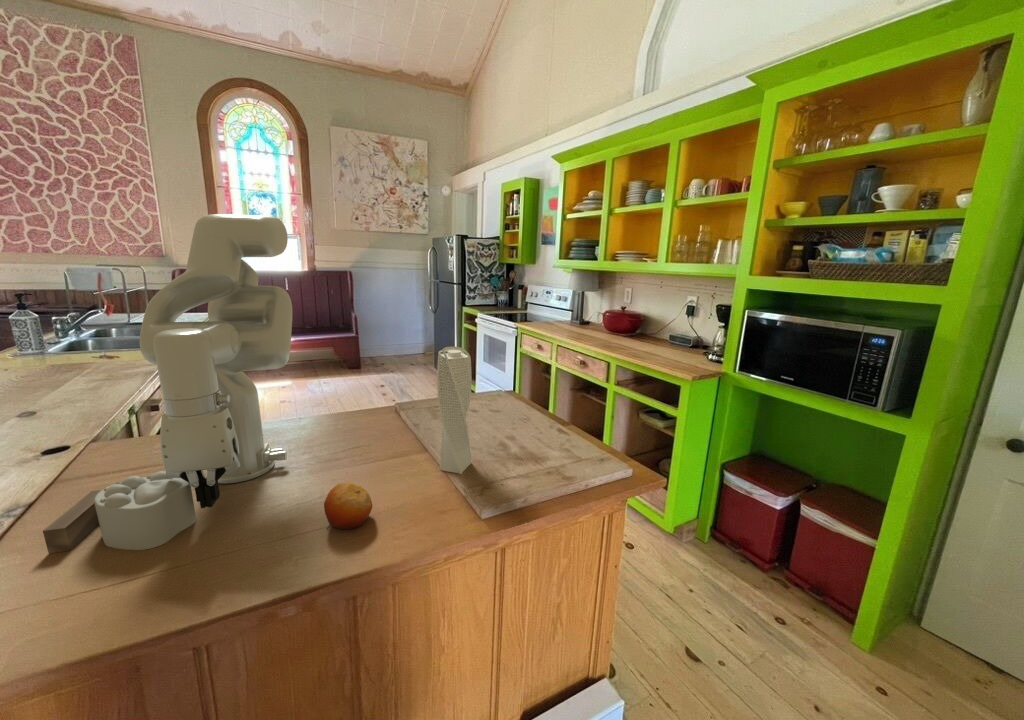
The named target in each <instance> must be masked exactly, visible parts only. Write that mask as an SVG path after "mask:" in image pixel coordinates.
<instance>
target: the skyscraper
mask: <svg viewBox="0 0 1024 720" xmlns="http://www.w3.org/2000/svg"><path fill="white" fill-rule="evenodd" d="M436 373H437V375H436V377H437V378H436V381H437V382H436V383H437V384H436V385H437V386H436V387H437V388H436V389H437V390H436V391H437V401H438V402H437V403H438V408H439V414H440V420H441V423H442V433H441V434H442V435H441V447H440V461H439V471H445V472H449V473H450V472H451V473H453V474H454V473H455V474H459V475H463V472H464V471H466V469H467V468H468V467H469V466H470V465H471V464H472V463H473V461H472V452H471V442H470V437H469V436H470V435H469V430H468V429H469V428H468V423H467V417H468V412H469V410H470V409H469V408H470V403H471V397H472V396H471V395H472V382H473V381H472V380H473V379H472V378H473V377H472V375H473V374H472V360H471V355H470V353H469V352H468V351H467V350H466V349H465V348H463V347H461V346H446V347H444V348H442V349H441V350H439V351H438V352H437V370H436Z"/></svg>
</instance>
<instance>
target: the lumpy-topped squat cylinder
mask: <svg viewBox="0 0 1024 720" xmlns="http://www.w3.org/2000/svg"><path fill="white" fill-rule="evenodd" d="M100 490H101V491H100V492H99V493H98V494H97V495H96V497H95V499H94V503H95V507H96V512H97V516H98V520H99V524H98V525H99V528H100V532H101V533H100V534H101V538H102V541H103V543H104V545H105V546H106V547H109V548H112V549H118V550H127V551H144V550H149V549H153V548H156V547H160V546H161V545H164V544H166V543H168V542H169V541H170V540H171V539H173V538H174V537H175V536H176V535H178V534H179V533H181V532H182V531H184V530H186V529H188V528H189V527H191V526H192V525H194V524H195V523H196V522H197V514H196V509H195V501H194V497H193V491H192V487H191V485H190V483H188V482H187V481H185V480H183V479H182V478H170V477H167V476H166V470H163V471H162V470H160V471H157V472H154V473H152V474H149V475H147V476H144V477H143V476H142V477H141V476H139V475H131V476H128V477H126V478H124V479H123V480H122V481H120V482H119V481H117V482H115V483H113V484H111V485H109V486H107V487H105V488H103V489H100Z"/></svg>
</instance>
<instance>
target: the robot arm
mask: <svg viewBox="0 0 1024 720" xmlns="http://www.w3.org/2000/svg"><path fill="white" fill-rule="evenodd" d="M287 245H288V231H287V229H286V225H285V224H284V223H283V221H282V220H281V219H280V218H279V217H278V216H271V215H270V216H267V215H266V216H265V215H253V214H250V215H249V214H232V213H231V214H229V213H228V214H226V213H225V214H224V213H222V214H221V213H215V214H214V213H213V214H206V215H203V216H201V217H200V218H198V220H197V221H196V223H195V225H194V229H193V233H192V238H191V243H190V249H189V252H188V253H189V254H188V259H187V261H186V262H187V264H186V270H185V271H184V272H183V273H181V274H180V275H179V276H177V277H175V278H173V279H172V280H171V281H170V282H168V283H167V284H166V285H164V286H163V287H161V289H160V290H158V291H157V292H156V293H155V294H154V295H153V296H152V298H151V299H150V301H148V303H147V305H146V308H145V311H144V314H143V319H142V323H141V328H140V333H139V349H140V353H141V355H142V357H143V358H144V359H145V360H146V361H147V362H148V363H150V364H153V365H154V366H155V365H156V367H157V373H158V378H159V379H158V381H159V385H160V390H161V396H162V401H163V406H164V413H163V414H162V415H161V417H160V418H161V419H160V434H159V435H160V438H159V439H160V440H159V441H160V453H161V460H162V465H163V468H164V471H165V472H166V476H167V477H170V478H182V479H183V480H185V481H187V482H188V483H190V485H191V488H193V489H194V492H195V498H196V502H197V503H198V502H199V507H200V509H206V508H213V506H214V505H215V503H216V502H217V500H219V498H220V494H221V493H220V486H219V484H235V483H242V482H246V481H249V480H253V479H255V478H258V477H260V476H263V475H264V474H266V473H268V472H269V471H271V469H272V468H273V467H274V465H275V463H276V462H275V461H286V460H287V458H288V452H287V450H284V448H283V447H280V448H270V446H269V442H265V440H264V434H263V433H264V432H263V424H262V418H261V417H262V416H261V409H260V408H261V407H260V400H259V399H260V398H259V394H258V389H257V386H256V385H255V383H254V382H253V381H252V379H251V378H250V377H248V375H246V374H245V372H246V371H264V370H267V371H268V370H276V369H277V370H278V369H281V368H283V367H285V366H286V365H287V363H288V361H289V360H290V355H291V347H292V345H291V344H292V329H293V304H292V299H291V297H290V295H289V293H288V291H286V290H285V288H283V287H280V286H276V285H259V276H258V273H257V272H256V271H255V269H254V268H252V266H251V265H250V264H249V263H248V262H246V260H244V259H242V258H274V257H277V256H279V255H282V254H283V253H284V252H285V250H286V248H287V247H288V246H287ZM207 303H208V305H207V317H208V320H207V321H177V319H178V318H179V317H180V316H182V315H183V314H184V313H186V312H188V311H189V310H191V309H195V308H196V307H199V306H201V305H203V304H207ZM204 471H205V473H204Z"/></svg>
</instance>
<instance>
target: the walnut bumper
mask: <svg viewBox="0 0 1024 720" xmlns="http://www.w3.org/2000/svg"><path fill="white" fill-rule="evenodd" d="M101 490H102V489H100V490H92V491H90V492H89V493H87V494H86V495H85V496H84V497H82V498H81V499H80V500H79V501H78V502H76V503H75V504H74V505H73V506H72V507H70V508H69V509H68V510H66V511H65V512H63V514H62V515H60V516H59V517H58V518H56V519H55V520H54V521H53V522H51V524H49V525H48V526H47V527H45V528H44V529H43V530H42V533H43V538H44V541H45V545H46V549H47V552H48V554H56V553H63V552H69V551H72V550H73V549H74V548H75V547H76V546H77V545H79V544H80V542H82V541H83V540H84V539H85V538H86V537H87V536H88V535H89V534H90V533H91V532H93V530H94V529H96V527H97V526H98V525H99V520H98V516H97V512H96V507H95V503H94V499H95V497H96V495H97V494H98V493H99V492H100V491H101Z"/></svg>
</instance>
